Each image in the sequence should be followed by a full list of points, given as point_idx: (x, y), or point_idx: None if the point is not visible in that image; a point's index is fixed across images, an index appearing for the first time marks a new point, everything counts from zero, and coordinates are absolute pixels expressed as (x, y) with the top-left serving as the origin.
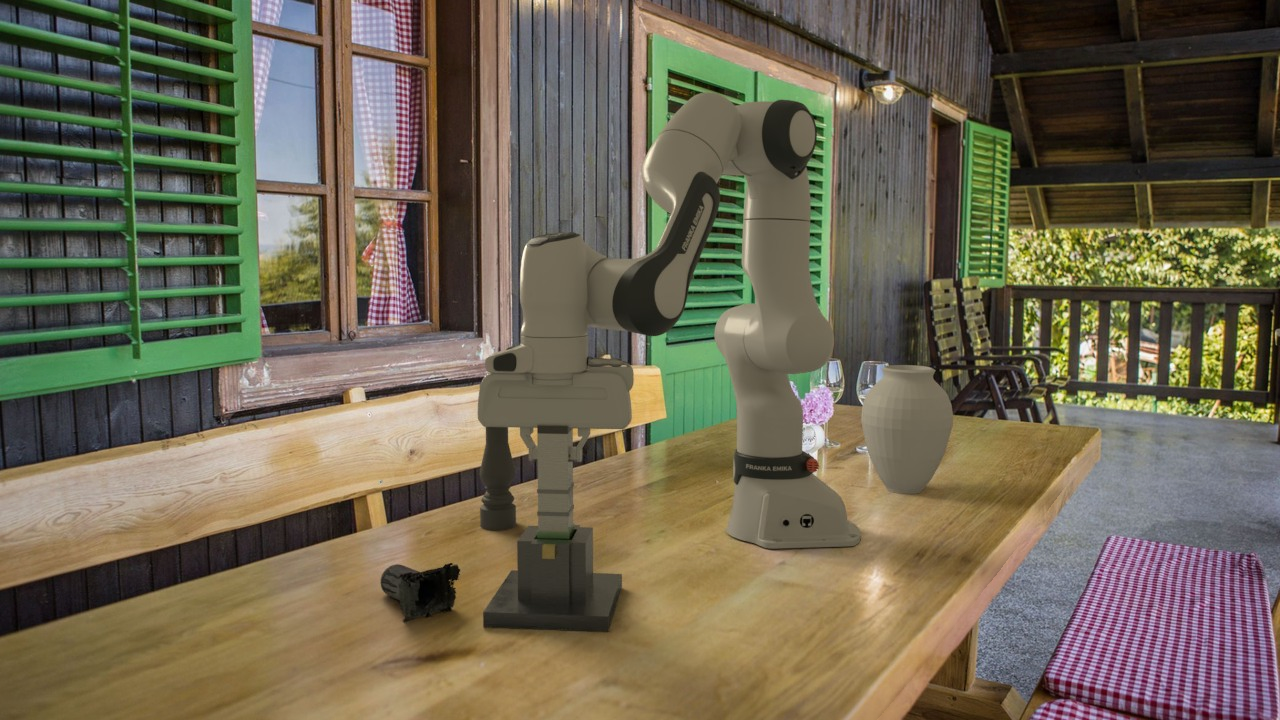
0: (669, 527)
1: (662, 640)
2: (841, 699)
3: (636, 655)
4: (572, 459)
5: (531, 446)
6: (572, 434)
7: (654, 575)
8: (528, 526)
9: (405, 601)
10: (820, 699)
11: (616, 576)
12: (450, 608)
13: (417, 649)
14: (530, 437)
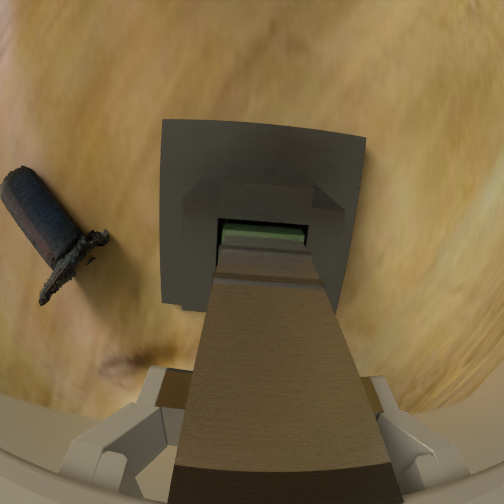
0: None
1: (387, 320)
2: (468, 392)
3: (354, 355)
4: None
5: (158, 451)
6: (378, 437)
7: (406, 86)
8: (183, 204)
9: (61, 285)
10: (458, 394)
11: (357, 150)
12: (107, 241)
13: (118, 343)
14: (125, 445)
